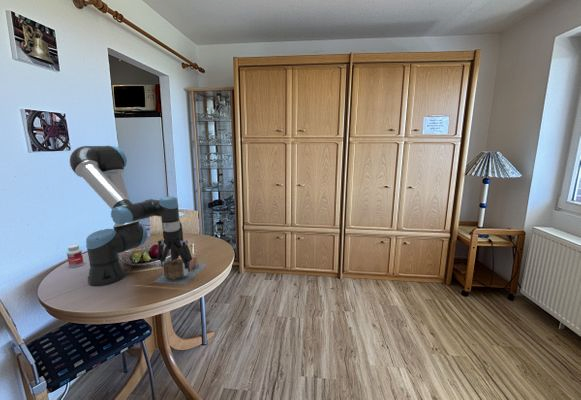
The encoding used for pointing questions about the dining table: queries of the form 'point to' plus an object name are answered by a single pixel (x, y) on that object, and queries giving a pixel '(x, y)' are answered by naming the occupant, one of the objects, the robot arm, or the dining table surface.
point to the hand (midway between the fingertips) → (175, 274)
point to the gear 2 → (193, 262)
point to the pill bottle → (75, 256)
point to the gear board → (180, 280)
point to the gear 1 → (173, 269)
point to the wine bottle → (173, 252)
